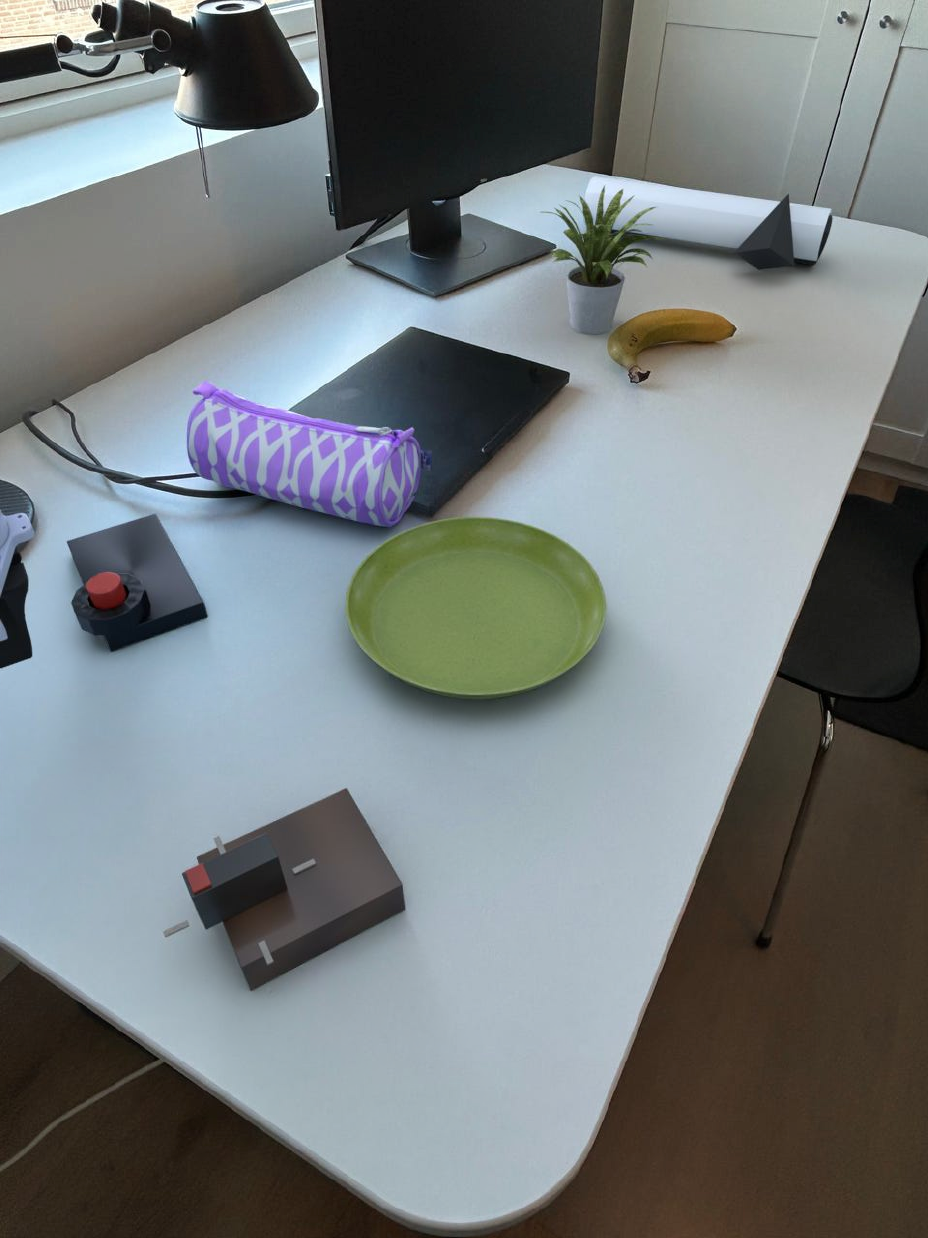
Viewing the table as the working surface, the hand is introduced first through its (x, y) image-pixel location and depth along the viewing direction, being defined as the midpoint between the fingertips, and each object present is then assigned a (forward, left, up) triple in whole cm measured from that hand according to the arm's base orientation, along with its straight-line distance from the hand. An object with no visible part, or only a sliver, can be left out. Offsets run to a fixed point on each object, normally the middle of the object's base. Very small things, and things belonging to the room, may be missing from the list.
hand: (14, 656), depth 55 cm
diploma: (+98, +47, -11) cm, 109 cm away
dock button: (+7, +12, -7) cm, 15 cm away
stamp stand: (+9, -18, -10) cm, 23 cm away
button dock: (+9, +16, -10) cm, 21 cm away
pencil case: (+27, +20, -11) cm, 36 cm away
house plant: (+71, +36, -11) cm, 80 cm away
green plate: (+32, -3, -11) cm, 34 cm away
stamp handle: (+7, -18, -7) cm, 21 cm away
